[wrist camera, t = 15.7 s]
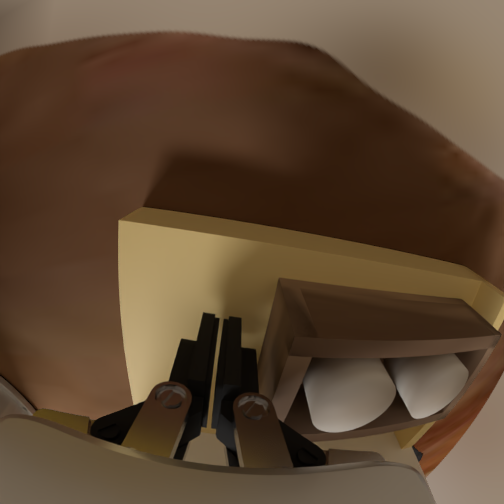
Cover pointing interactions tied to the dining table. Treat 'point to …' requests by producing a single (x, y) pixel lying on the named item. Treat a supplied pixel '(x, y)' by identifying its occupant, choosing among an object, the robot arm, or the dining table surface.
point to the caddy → (367, 358)
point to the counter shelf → (257, 297)
